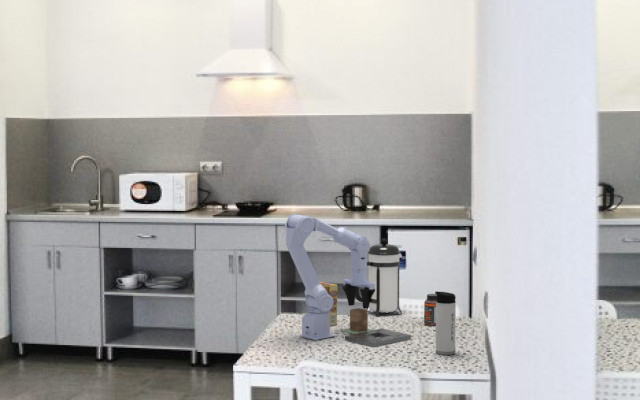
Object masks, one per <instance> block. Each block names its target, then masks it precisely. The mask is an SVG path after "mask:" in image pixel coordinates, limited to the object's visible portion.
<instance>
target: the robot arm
mask: <svg viewBox="0 0 640 400" xmlns="http://www.w3.org/2000/svg"><path fill="white" fill-rule="evenodd" d="M286 219H287V220H286V222H285V224H284V228H285V229H286V234H285V235H286V237H285V238H286V239H285V241H286V243H285V244H286V247H287V249H288V253H289V254H290V257H291V260H292V261H293V263H294V265H295V268H296V269H297V272H298V274H299V276H300V279H301V282H302V283H303V286H304V288H305V290H304V295H305V304H306V306H307V307H308V310H309V312H307V313H304V314H303V316H302V319H301V321H302V322H301V332H302V333H301V335H300V337H301V338H306V339H308V340H314V341H317V340H323V339H327V338H328V339H329V338H332V337H334V338H335V336H336V335H335V334H332V333H331V330H330V328H331V326H330V310H331V309H332V307H333V298H332V297H331V296H330V295H329V294H328V293H327V291H326V289H325V288H324V287H323V286H322V285H321V284H320V282H321V281H320V280H319V278H318V275H317V272H316V271H315V269H314V266H313V263H312V262H311V260H310V256H308V253H307V250H306V249H305V246H304V243H305V242H306V240H307V239H308V238H309V236H310V235H311V234H312V233H313V232H317V231H318V232H319V233H323V234H325V235H327V236H330V237H332V239H333V242H335V243H337V244H339V245H341V246H344V247H345V248H348V250H350V278H345V279H342V281H343V283H342V284H343V285H344V286H342V290H343V291H344V294H345V296H346V299H347V303H348V306H355V302H356V298H355V293H356V289H357V287H359V293H360V294H361V298H362V301H363V302H362V309H367V308H368V309H369V304H370V301H371V298H372V295H373V294H374V292H375V284H374V283H371V282H369V279H368V278H367V277H368V274H367V273H368V272H367V271H368V266H367V262H368V251H369V249H370V247H371V243H370V241H369V239H368V238H367V237H366V236H363V235H359V233H358V232H353V231H351V230H349V228H348V227H347V226H341V227H338V228H336V227H334V226H332V225H330V224H329V223H327V222H325V221H322V220H321V219H319V218H315V217H312V216H311V215H302V214H298V213H292V214H291V215H290V216H288V218H286Z"/></svg>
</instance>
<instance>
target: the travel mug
mask: <svg viewBox="0 0 640 400" xmlns="http://www.w3.org/2000/svg"><path fill="white" fill-rule="evenodd" d="M434 294H437V296H436V299H437V300H436V326H435V353H436V354H437V355H439V356H440V355H441V356H453V355H455V354H456V320H457V319H456V317H457V316H456V313H457V312H456V309H457V308H456V305H457V304H456V303H457V301H456V295H455V294H454V293H451V292H446V291H435V292H434ZM452 354H453V355H452Z"/></svg>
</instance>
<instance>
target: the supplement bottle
mask: <svg viewBox="0 0 640 400" xmlns="http://www.w3.org/2000/svg"><path fill="white" fill-rule="evenodd" d="M436 296H437V294H435V293H428V294H426V299H425V300H424V301H423V303H424V304H423V305H424V306H423V308H424V309H423V314H424V315H423V323H424V325H426V326H429V325H431V327H436V326H435V325H436V300H437V299H436Z"/></svg>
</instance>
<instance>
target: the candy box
mask: <svg viewBox="0 0 640 400" xmlns="http://www.w3.org/2000/svg"><path fill="white" fill-rule="evenodd" d="M319 282H320V284H321V285H322V286H323V287H324V288H325V289H326V291H327V293H328V294H329V295H330V296H331V297H332V298H333V307H332V309H331V310H330V327H331V326H337V325H338V284H335V283H331V282H325V281H319Z"/></svg>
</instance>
